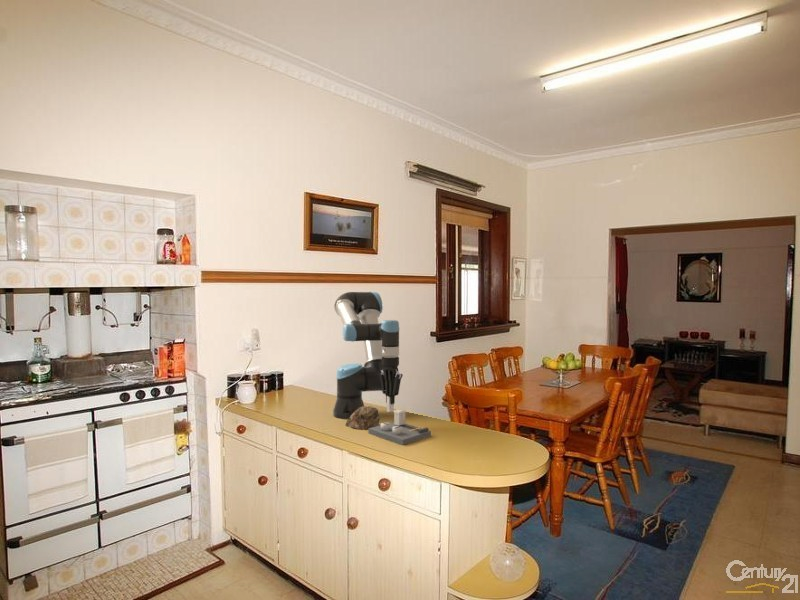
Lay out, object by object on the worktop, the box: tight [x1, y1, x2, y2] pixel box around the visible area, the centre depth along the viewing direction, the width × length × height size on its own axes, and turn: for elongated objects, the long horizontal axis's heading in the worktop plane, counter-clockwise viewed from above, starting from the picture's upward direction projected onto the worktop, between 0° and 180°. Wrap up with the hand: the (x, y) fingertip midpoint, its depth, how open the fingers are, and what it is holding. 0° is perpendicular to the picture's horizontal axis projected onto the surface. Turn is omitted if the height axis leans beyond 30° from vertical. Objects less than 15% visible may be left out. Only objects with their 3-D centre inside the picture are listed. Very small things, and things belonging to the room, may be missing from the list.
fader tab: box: [393, 408, 407, 426], centre depth 200 cm, size 3×4×6 cm
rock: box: [345, 405, 381, 430], centre depth 205 cm, size 14×9×10 cm
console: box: [367, 421, 432, 446], centre depth 193 cm, size 20×16×5 cm
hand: (390, 411), depth 204 cm, fingers closed
